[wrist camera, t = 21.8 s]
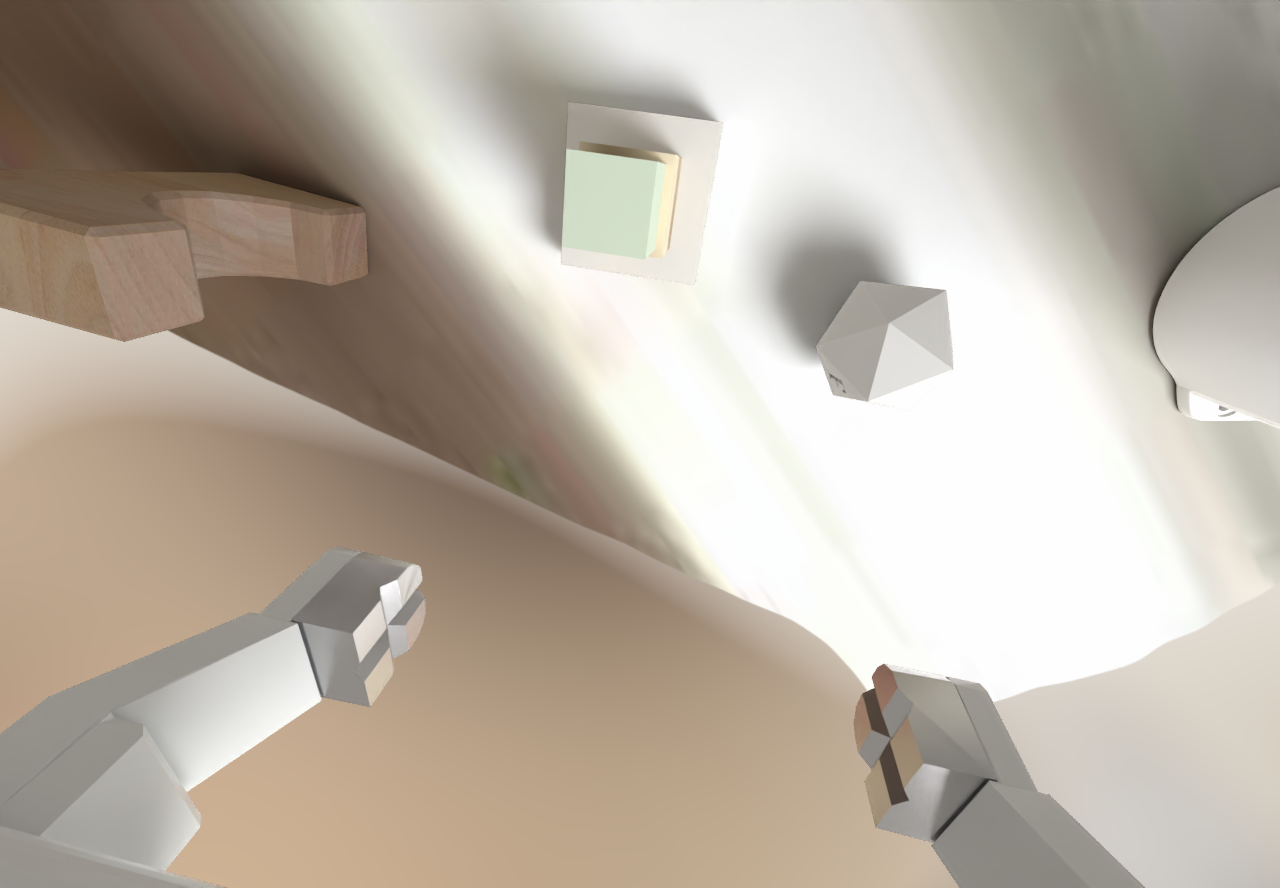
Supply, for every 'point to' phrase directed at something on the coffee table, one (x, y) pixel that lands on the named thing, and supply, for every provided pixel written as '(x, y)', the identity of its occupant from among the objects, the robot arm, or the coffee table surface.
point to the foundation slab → (694, 191)
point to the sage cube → (612, 203)
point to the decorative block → (159, 243)
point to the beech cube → (669, 186)
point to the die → (888, 344)
